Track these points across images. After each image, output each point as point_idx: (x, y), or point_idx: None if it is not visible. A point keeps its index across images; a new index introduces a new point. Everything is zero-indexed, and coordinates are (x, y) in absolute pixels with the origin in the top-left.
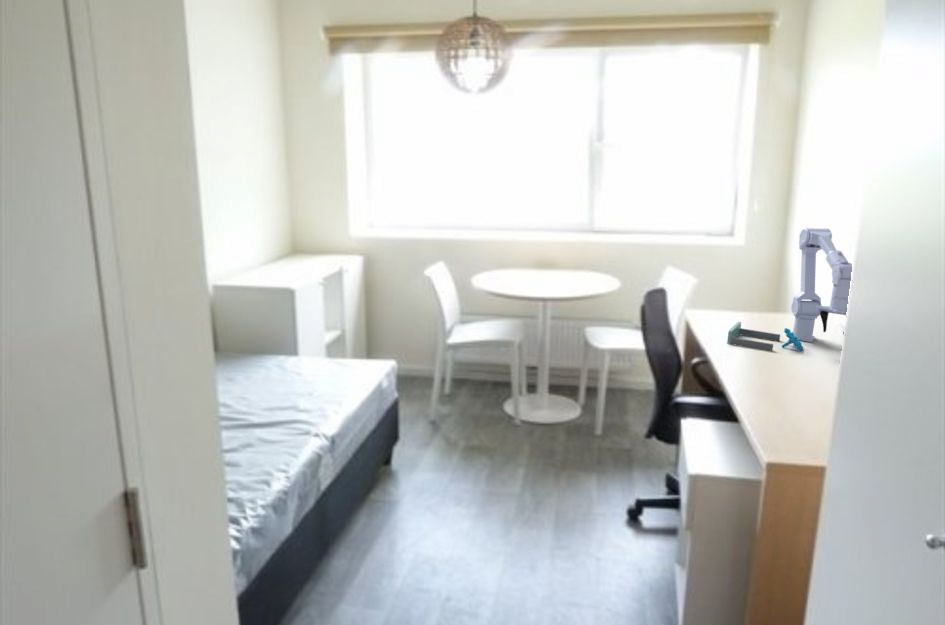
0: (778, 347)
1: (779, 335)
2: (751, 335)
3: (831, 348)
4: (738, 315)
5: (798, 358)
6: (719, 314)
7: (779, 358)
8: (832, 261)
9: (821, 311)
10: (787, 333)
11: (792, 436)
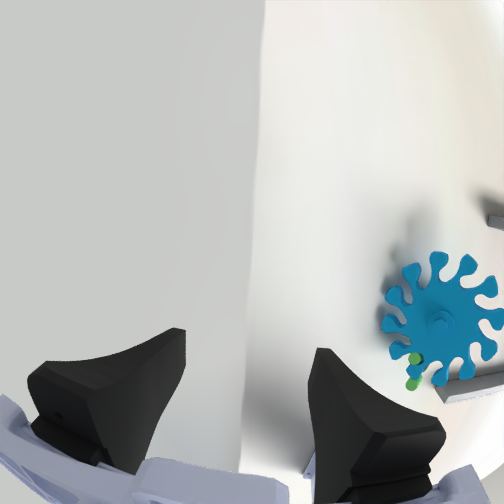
0: None
1: (449, 395)
2: (499, 374)
3: (253, 397)
4: None
5: (406, 141)
6: None
7: (462, 110)
8: None
9: (423, 486)
10: (497, 290)
11: None
